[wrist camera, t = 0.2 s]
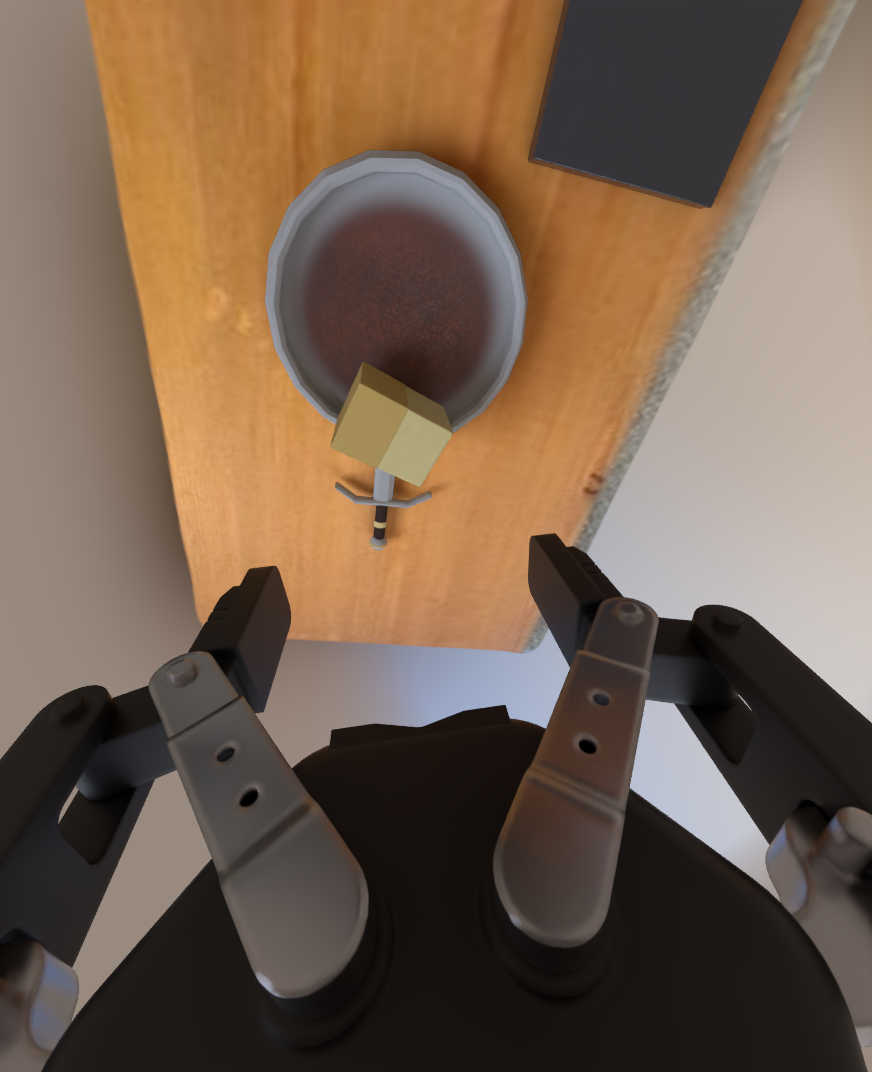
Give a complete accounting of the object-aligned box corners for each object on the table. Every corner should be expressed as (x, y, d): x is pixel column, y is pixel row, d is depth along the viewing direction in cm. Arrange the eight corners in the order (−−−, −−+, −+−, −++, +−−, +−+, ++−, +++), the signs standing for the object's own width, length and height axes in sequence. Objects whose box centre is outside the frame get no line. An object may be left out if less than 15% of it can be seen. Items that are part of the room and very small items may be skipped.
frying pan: (280, 552, 36) (246, 106, 20) (286, 532, 38) (260, 118, 22) (467, 563, 39) (570, 184, 23) (462, 544, 41) (553, 188, 25)
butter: (363, 361, 27) (359, 382, 23) (444, 406, 30) (454, 432, 26) (336, 418, 29) (329, 448, 25) (414, 456, 32) (419, 489, 28)
